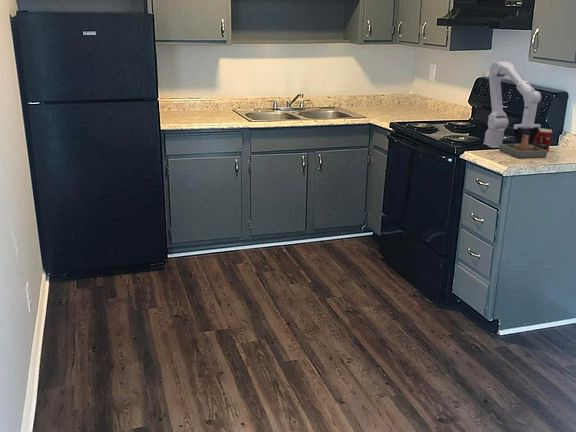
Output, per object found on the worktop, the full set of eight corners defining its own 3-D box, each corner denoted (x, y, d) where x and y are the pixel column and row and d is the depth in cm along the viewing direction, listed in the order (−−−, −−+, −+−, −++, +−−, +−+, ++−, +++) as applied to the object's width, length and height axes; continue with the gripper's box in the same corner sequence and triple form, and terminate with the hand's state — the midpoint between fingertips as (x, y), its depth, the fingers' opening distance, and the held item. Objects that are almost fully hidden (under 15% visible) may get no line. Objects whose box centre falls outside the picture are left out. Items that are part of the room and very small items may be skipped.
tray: (499, 150, 304) (500, 142, 303) (525, 150, 309) (526, 141, 307) (518, 158, 290) (520, 149, 288) (546, 157, 294) (547, 148, 293)
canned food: (531, 150, 308) (535, 130, 304) (534, 148, 314) (538, 127, 310) (546, 153, 304) (550, 132, 300) (549, 150, 310) (553, 129, 306)
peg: (518, 152, 300) (521, 134, 297) (523, 152, 301) (526, 134, 298) (521, 153, 297) (525, 136, 294) (526, 153, 298) (530, 136, 295)
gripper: (522, 117, 287) (517, 144, 291) (546, 117, 291) (541, 144, 296) (512, 114, 293) (508, 141, 298) (537, 114, 297) (532, 140, 302)
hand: (524, 142), depth 297 cm, fingers open, 7 cm apart
